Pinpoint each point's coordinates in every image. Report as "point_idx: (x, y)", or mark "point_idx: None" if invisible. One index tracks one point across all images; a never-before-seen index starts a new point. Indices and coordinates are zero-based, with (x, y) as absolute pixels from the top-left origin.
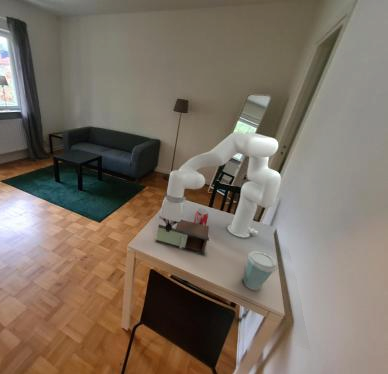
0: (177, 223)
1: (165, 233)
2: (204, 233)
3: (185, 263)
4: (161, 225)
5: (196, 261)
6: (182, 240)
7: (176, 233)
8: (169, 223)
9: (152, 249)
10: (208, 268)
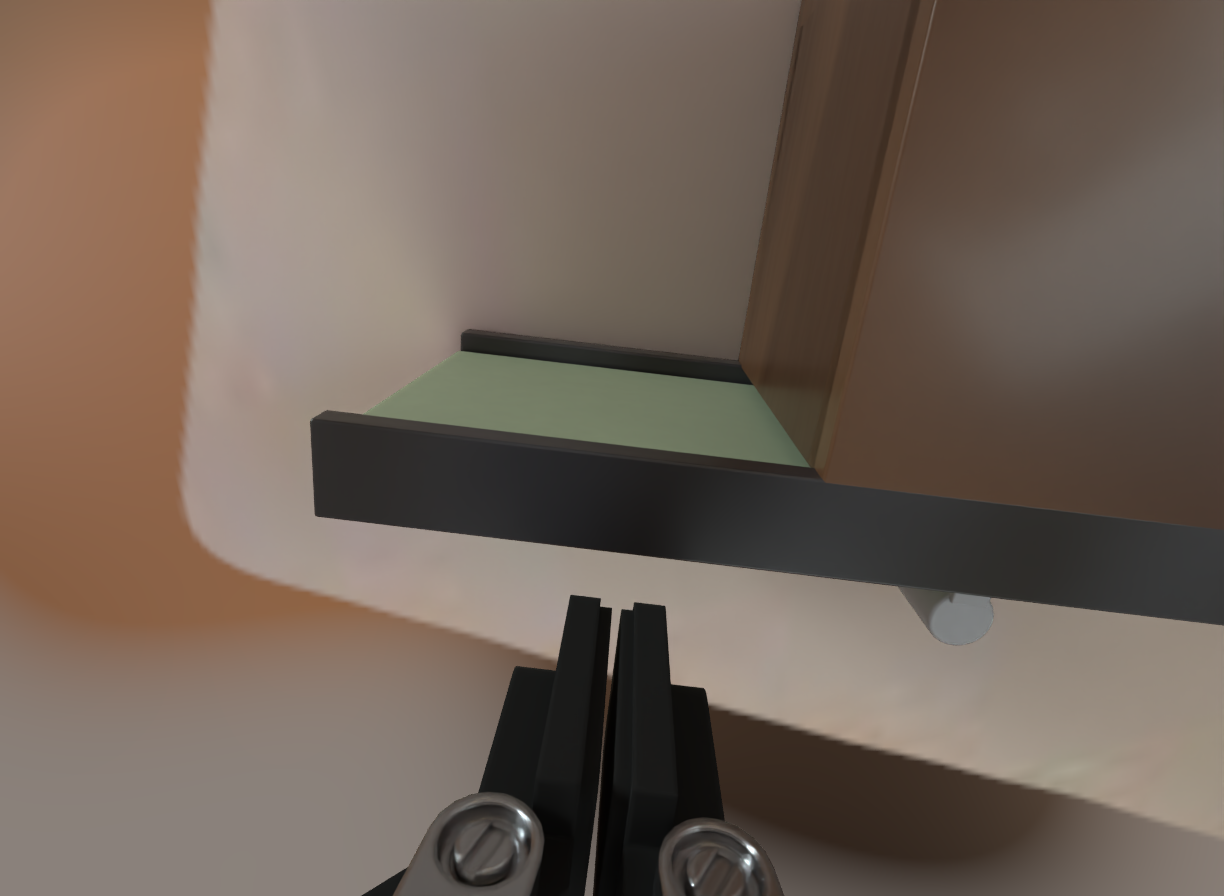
0: (916, 142)
1: None
2: None
3: (910, 677)
4: (388, 455)
5: (1074, 611)
6: (954, 641)
7: None
8: (596, 784)
9: (456, 557)
10: (1211, 683)
